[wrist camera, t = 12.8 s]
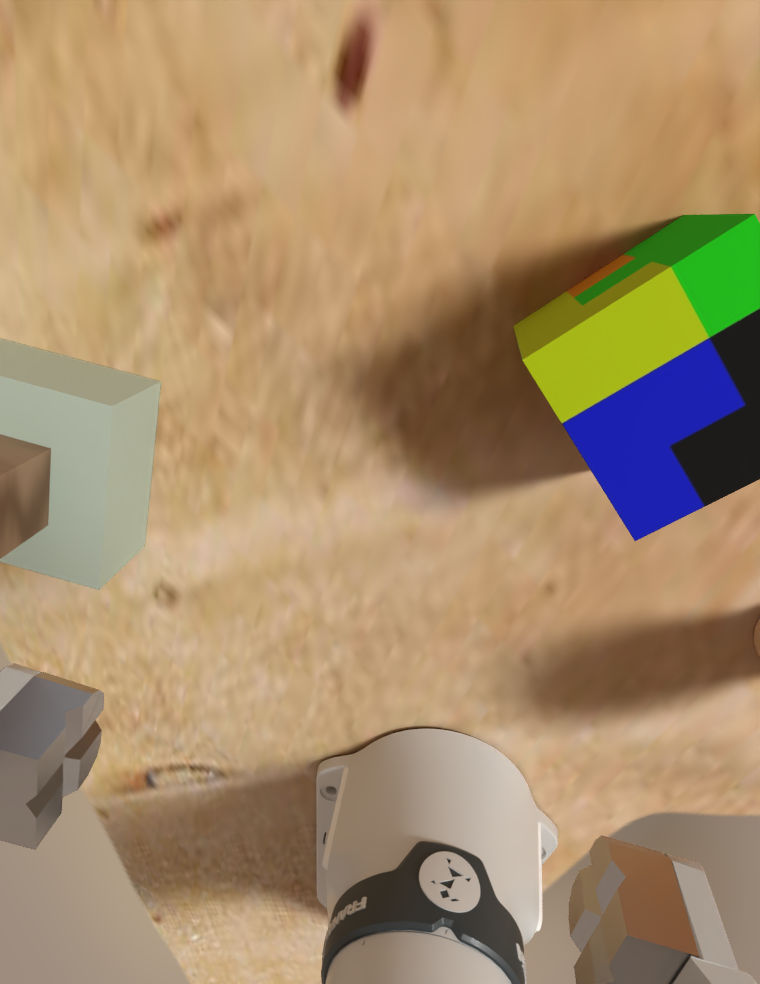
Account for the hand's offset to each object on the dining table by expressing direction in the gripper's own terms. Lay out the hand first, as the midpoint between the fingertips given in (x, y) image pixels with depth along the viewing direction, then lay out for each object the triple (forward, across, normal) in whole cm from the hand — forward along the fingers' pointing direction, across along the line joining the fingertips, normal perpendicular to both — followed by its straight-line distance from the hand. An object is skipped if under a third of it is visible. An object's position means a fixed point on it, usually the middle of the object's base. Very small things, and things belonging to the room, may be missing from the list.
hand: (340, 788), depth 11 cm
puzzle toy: (+31, -10, -4) cm, 33 cm away
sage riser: (+31, +23, +11) cm, 40 cm away
